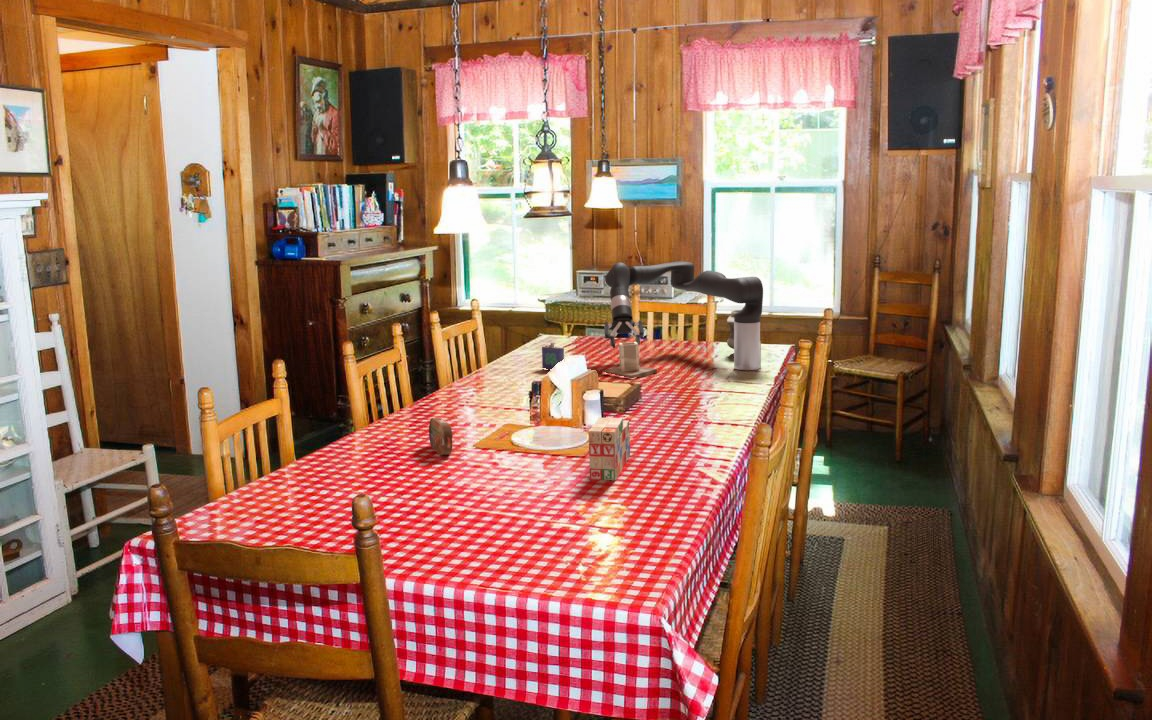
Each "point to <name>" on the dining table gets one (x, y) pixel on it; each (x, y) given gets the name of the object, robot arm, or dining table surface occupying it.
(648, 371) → the post base
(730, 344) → the apothecary jar
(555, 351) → the flask
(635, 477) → the dining table surface
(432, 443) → the tin
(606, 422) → the stack of blocks
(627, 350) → the tan upright block
